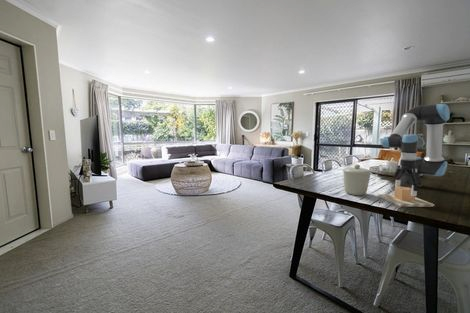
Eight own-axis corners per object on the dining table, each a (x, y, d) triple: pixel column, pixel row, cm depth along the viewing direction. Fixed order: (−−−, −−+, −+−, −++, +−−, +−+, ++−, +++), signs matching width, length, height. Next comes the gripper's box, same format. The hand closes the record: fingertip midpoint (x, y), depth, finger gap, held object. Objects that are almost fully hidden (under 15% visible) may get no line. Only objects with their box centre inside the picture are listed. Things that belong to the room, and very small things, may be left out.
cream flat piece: (407, 196, 150) (408, 188, 149) (434, 206, 130) (435, 196, 129) (378, 196, 150) (379, 187, 149) (400, 206, 130) (400, 196, 129)
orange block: (407, 197, 143) (408, 186, 142) (414, 200, 137) (416, 189, 136) (394, 197, 143) (395, 186, 142) (401, 200, 137) (402, 189, 136)
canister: (376, 197, 148) (378, 166, 146) (349, 197, 148) (351, 166, 145) (360, 190, 166) (362, 162, 164) (336, 190, 166) (338, 162, 163)
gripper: (388, 156, 149) (386, 187, 152) (418, 162, 124) (415, 198, 127) (399, 156, 149) (396, 187, 152) (431, 162, 124) (428, 198, 127)
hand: (405, 192), depth 139 cm, fingers open, 13 cm apart
